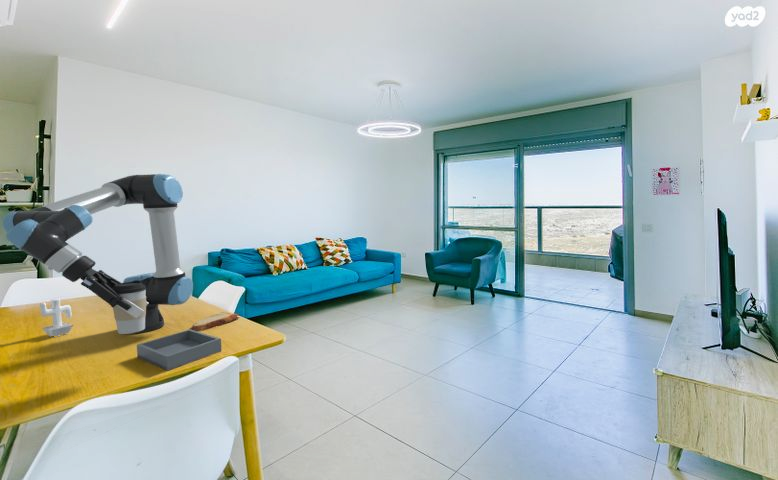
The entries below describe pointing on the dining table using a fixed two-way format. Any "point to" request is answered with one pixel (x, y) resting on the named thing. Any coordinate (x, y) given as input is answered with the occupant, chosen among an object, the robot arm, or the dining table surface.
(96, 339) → the dining table surface
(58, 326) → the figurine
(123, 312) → the coffee cup
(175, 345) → the tray
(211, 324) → the slice of bread
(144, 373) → the dining table surface
